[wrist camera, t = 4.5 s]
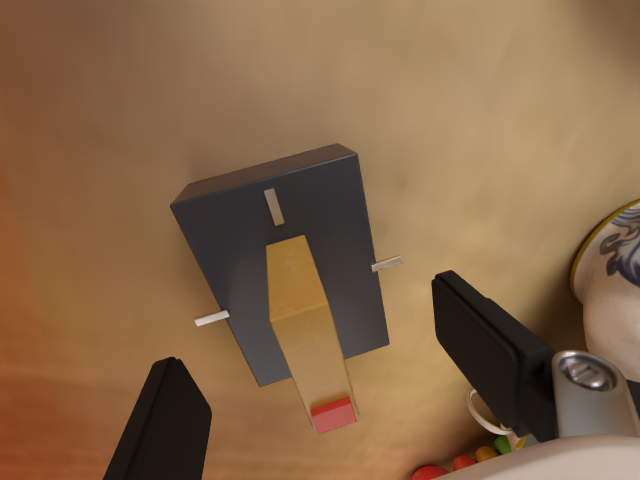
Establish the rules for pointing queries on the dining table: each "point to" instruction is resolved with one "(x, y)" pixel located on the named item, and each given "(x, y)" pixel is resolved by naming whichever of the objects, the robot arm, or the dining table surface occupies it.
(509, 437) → the chinaware
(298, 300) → the lock turn
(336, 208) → the lock plate
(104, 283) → the dining table surface
